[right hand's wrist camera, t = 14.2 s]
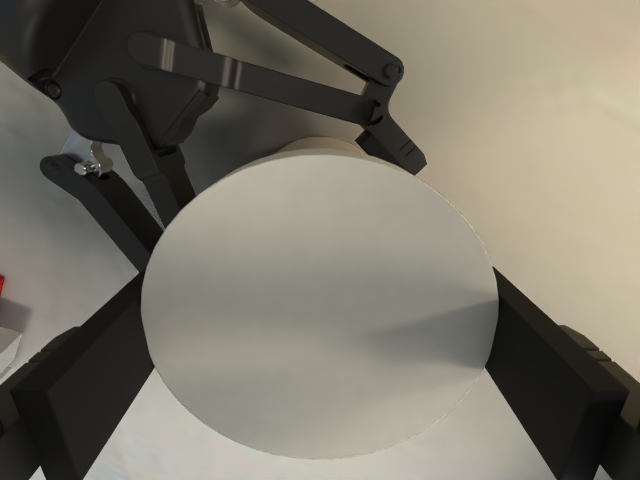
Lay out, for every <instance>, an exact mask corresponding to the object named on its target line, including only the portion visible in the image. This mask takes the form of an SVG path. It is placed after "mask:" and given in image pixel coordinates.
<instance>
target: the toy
mask: <svg viewBox="0 0 640 480" xmlns="http://www.w3.org/2000/svg"><path fill="white" fill-rule="evenodd" d="M3 281H4V278H2V277H0V294H1V290H2V285H3ZM21 335H22V332H18V331H15V330H11V329H8V328H4V327H1V326H0V385H1V384H2V383H3V382H4V381H5V380H6V379H8V378H9V376H10V372H11V369H12V367H8V365H9V364H10V363H11V362H12V361H13V360H14V359H15V356H16V352H17V349H18V346H19V342H20V339H21Z"/></svg>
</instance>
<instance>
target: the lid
mask: <svg viewBox="0 0 640 480" xmlns="http://www.w3.org/2000/svg"><path fill="white" fill-rule="evenodd" d="M498 312H499V299H498V291H497V283H496V278H495V274H494V271H493V268H492V264H491V261H490V258H489V256H488V254H487V252H486V250H485V248H484V246H483V244H482V241H481V239H480V238H479V237H478V235H477V234H476V232H475V231H474V229H473V228H472V226H471V225H470V223H469V222H468V221H467V219H466V218H465V217H464V216H463V215H462V214H461V213H460V212H459V211H458V210H457V209H456V208H455V207H454V206H453V204H452V203H450V202H449V201H448V200H447V199H445V198H444V197H443V196H442V195H440V194H439V193H438V192H437V191H435V190H434V189H433V188H431V187H430V186H429V185H427V184H426V183H424V182H423V181H421V180H420V179H419V178H417V177H415V176H414V175H412V174H410V173H409V172H407V171H405V170H403V169H402V168H400V167H398V166H396V165H394V164H391V163H389V162H386V161H384V160H381V159H379V158H377V157H373V156H369V155H366V154H362V153H358V152H354V151H347V150H338V149H329V148H321V149H300V150H293V151H287V152H281V153H277V154H274V155H270V156H267V157H264V158H260V159H257V160H255V161H253V162H250V163H248V164H246V165H244V166H242V167H240V168H237V169H235V170H234V171H232V172H231V173H229V174H228V175H226V176H224V177H223V178H221V179H220V180H218V181H217V182H215V183H214V184H212V185H211V186H210V187H208V188H207V189H205V190H204V191H202V192H201V193H200V194H199V195H197V196H196V197H195V198H194V199H193V200H192V201H191V202H189V203H188V204H187V205H186V206H185V207H184V208H183V209H182V210H181V211H180V212H179V213H178V214H177V216H176V217H175V218H174V219H173V220H172V222H171V223H170V224H169V225H168V226H167V228H166V229H165V231H164V233H163V234H162V236H161V238H160V239H159V241H158V242H157V244H156V246H155V248H154V250H153V253H152V255H151V258H150V260H149V263H148V265H147V268H146V272H145V276H144V281H143V285H142V294H141V316H142V322H143V326H144V331H145V335H146V340H147V345H148V349H149V353H150V356H151V359H152V361H153V364H154V366H155V368H156V370H157V371H158V373H159V375H160V377H161V378H162V380H163V382H164V383H165V385H166V386H167V387H168V388H169V390H170V391H171V392H172V394H173V395H174V396H175V398H176V399H177V400H178V401H179V402H180V403H181V404H182V405H183V406H184V407H185V408H186V409H187V410H188V411H189V412H190V413H192V414H193V415H194V416H195V417H197V418H198V419H199V420H200V421H202V422H203V423H204V424H206V425H207V426H209V427H210V428H212V429H213V430H215V431H216V432H218V433H220V434H221V435H223V436H225V437H227V438H229V439H231V440H233V441H235V442H237V443H240V444H243V445H245V446H248V447H250V448H253V449H256V450H259V451H263V452H267V453H270V454H274V455H279V456H285V457H291V458H300V459H313V460H314V459H339V458H348V457H355V456H360V455H365V454H370V453H374V452H377V451H380V450H383V449H387V448H390V447H392V446H395V445H397V444H399V443H402V442H404V441H407V440H409V439H411V438H412V437H414V436H416V435H418V434H420V433H422V432H423V431H425V430H427V429H428V428H429V427H431V426H432V425H434V424H435V423H437V422H438V421H440V420H441V419H442V418H443V417H444V416H446V415H447V414H448V413H449V412H450V411H451V410H452V409H454V408H455V407H456V406H457V405H458V403H459V402H460V401H461V400H462V399H463V398H464V397H465V396H466V395H467V393H468V392H469V391H470V389H471V388H472V387H473V385H474V384H475V382H476V381H477V379H478V378H479V376H480V374H481V372H482V370H483V369H484V367H485V365H486V363H487V361H488V358H489V356H490V352H491V348H492V343H493V339H494V334H495V330H496V325H497V320H498Z"/></svg>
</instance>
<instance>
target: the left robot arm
mask: <svg viewBox="0 0 640 480" xmlns="http://www.w3.org/2000/svg"><path fill="white" fill-rule="evenodd" d="M206 1H208V0H0V61H1V62H3V63H4V64H5V65H6V66H7V67H9V68H10V69H11V70H12V71H14V72H15V73H16V74H17V75H18V76H20V77H21V78H22V79H23V80H24V81H26V82H27V83H28V84H30V85H31V86H33V87H34V88H36V89H37V90H39V91H40V92H42V93H43V94H45V95H46V96H48V97H49V98H50V99H52V100H53V101H54V102H55V103H56V104H57V105H58V106H59V107H60V109H61V110H62V111H63V113H64V115H65V116H66V118H67V120H68V122H69V124H70V126H71V127H72V128H73V130H72V132H71V134H70V136H69V137H68V139H67V141H66V143H65V144H64V146H63V148H62V150H61V151H60V153H59V154H58V155H53V156H48V157H44V158H43V159H42V160H41V163H40V169H41V171H42V173H43V175H44V176H45V177H47V178H48V179H49V180H51V181H52V182H54V183H55V184H56V185H58V186H59V187H61V188H62V189H64V190H65V191H67V192H68V193H70V194H71V195H72V196H74V197H75V198H77V199H78V200H79V201H80V202H81V203H82V204H83V205H84V207H85V208H86V209H87V210H88V211H89V213H90V214H91V215H92V216H93V217H94V218H95V220H96V221H97V222H98V223H99V224H100V226H101V227H102V228H103V229H104V230H105V232H106V233H107V234H108V235H109V236H110V238H111V239H112V240H113V241H114V242H115V244H116V245H117V246H118V247H119V248H120V250H121V251H122V252H123V253H124V254H125V256H126V257H127V258H128V259H129V260H130V261H131V263H132V264H133V265H134V266H135V267H136V269H137V270H138V271H139V272H141V271H142V270H143V269H144V268H146V267H147V265H148V263H149V260H150V258H151V255H152V253H153V250H154V248H155V246H156V244H157V242H158V241H159V239H160V238H161V236H162V234H163V233H164V231H163V230H162V228H161V227H160V226H159V225H158V223H157V222H156V221H155V219H154V218H153V217H152V216H151V214H150V213H149V212H148V210H147V209H146V208H145V206H144V205H143V204H142V203H141V201H140V200H139V199H138V197H137V196H136V195H135V194H134V192H133V191H132V190H131V188H130V187H129V186H128V185H127V184H126V182H125V181H124V180H123V179H122V178H121V177H120V176H119V175H118V174H117V173H116V172H114V171H113V170H112V169H111V167H112V166H113V161H112V160H111V159H110V158H108V157H106V155H105V154H104V153H103V151H102V142H103V143H110V144H117V145H120V147H121V149H122V151H123V153H124V155H125V157H126V159H127V161H128V163H129V166H130V168H131V170H132V172H133V174H134V175H135V176H136V177H137V179H139V180H141V181H142V182H143V183H144V185H145V187H146V189H147V191H148V193H149V195H150V197H151V199H152V201H153V204H154V206H155V208H156V210H157V212H158V214H159V216H160V218H161V221H162V223H163V225H164V227H165V229H166V228H167V226H168V225H169V224H170V223H171V222H172V220H173V219H174V218H175V217H176V216H177V214H178V213H179V212H180V211H181V210H182V209H183V208H184V207H185V206H186V205H187V204H188V203H189V202H191V201H192V200H193V199H194V198H195V197H196V194H195V192H194V190H193V187H192V185H191V183H190V180H189V178H188V175H187V173H186V171H185V167H184V164H185V161H184V157H183V154H182V152H181V149H180V147H179V145H178V144H179V143H183V142H184V141H185V140H186V138H187V137H188V136H189V135H190V133H191V132H192V130H193V128H194V125H195V123H196V120H197V118H198V117H199V116H201V115H202V114H204V113H205V112H207V111H208V110H210V109H211V107H212V106H213V105H214V104H215V103H216V101H217V100H218V99H219V97H218V96H217V94H218V91H219V86H223V87H226V88H230V89H234V90H237V91H241V92H244V93H248V94H252V95H255V96H259V97H262V98H266V99H269V100H273V101H277V102H280V103H284V104H287V105H291V106H295V107H298V108H302V109H305V110H309V111H312V112H316V113H320V114H323V115H327V116H330V117H334V118H337V119H341V120H345V121H348V122H352V123H355V124H359V125H360V126H361V127H362V128H363V129H364V130H365V131H364V132H363V133H362V134H361V135H360V136H359V137H358V138H357V139H356V140H355V141H356V142H357V143H358V145H359V146H360V147H361V148H362V149H363V150H364V151H365V152H366V153H367V154H368V155H369V156H373V157H377V158H379V159H381V160H384V161H386V162H389V163H391V164H394V165H396V166H398V167H400V168H402V169H403V170H405V171H407V172H409V173H410V174H412V175H414V176H415V175H416V174H417V173H418V172H419V171H420V170H421V169H422V168H423V167H424V166H425V165H427V163H426V160H425V157H424V154H423V153H422V152H421V151H420V149H419V148H418V147H417V146H416V145H415V144H414V143H413V142H412V140H411V139H410V138H409V137H408V136H407V135H406V134H405V133H404V131H403V130H402V129H401V128H400V127H399V126H398V125H397V124H396V123H395V121H394V120H393V119H392V118H391V116H390V114H389V111H388V104H389V100H390V98H391V96H392V94H393V91H394V89H395V87H396V85H397V83H398V82H399V81H400V80H401V79H402V76H403V74H404V66H403V64H402V61H401V60H400V59H399V58H397V57H396V56H394V55H393V54H391V53H390V52H388V51H386V50H385V49H383V48H382V47H380V46H379V45H377V44H375V43H374V42H372V41H371V40H369V39H368V38H366V37H364V36H363V35H361V34H360V33H358V32H357V31H355V30H353V29H352V28H350V27H349V26H347V25H346V24H344V23H342V22H341V21H339V20H338V19H336V18H335V17H333V16H331V15H330V14H328V13H327V12H325V11H324V10H322V9H320V8H319V7H317V6H316V5H314V4H313V3H311V2H309V1H308V0H214V1H217V2H218V3H220V4H221V5H222V6H224V7H227V8H232V7H235V6H236V5H237V4H238V3H239V2H240V1H242V2H243V4H244V5H245V6H246V7H248V8H249V9H250V10H251V11H252V12H253V13H255V14H256V15H257V16H259V17H260V18H262V19H263V20H265V21H267V22H268V23H270V24H272V25H273V26H275V27H276V28H278V29H280V30H281V31H283V32H285V33H286V34H288V35H290V36H291V37H293V38H294V39H296V40H298V41H299V42H301V43H303V44H304V45H306V46H308V47H309V48H311V49H313V50H314V51H316V52H317V53H319V54H321V55H322V56H324V57H326V58H327V59H329V60H331V61H332V62H334V63H335V64H337V65H339V66H340V67H342V68H344V69H345V70H347V71H349V72H350V73H352V74H353V75H355V76H357V77H358V78H360V79H362V80H363V81H365V82H366V84H365V86H364V89H363V91H362V93H361V95H357V94H353V93H350V92H346V91H343V90H340V89H336V88H333V87H329V86H326V85H322V84H319V83H315V82H312V81H308V80H305V79H301V78H298V77H294V76H291V75H287V74H284V73H280V72H277V71H273V70H270V69H266V68H263V67H259V66H256V65H253V64H249V63H246V62H242V61H239V60H236V59H233V58H231V57H227V56H224V55H221V54H217V53H214V52H213V49H212V45H211V41H210V37H209V33H208V29H207V25H206V21H205V17H204V13H203V9H202V6H201V5H202V4H203V3H204V2H206Z"/></svg>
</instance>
